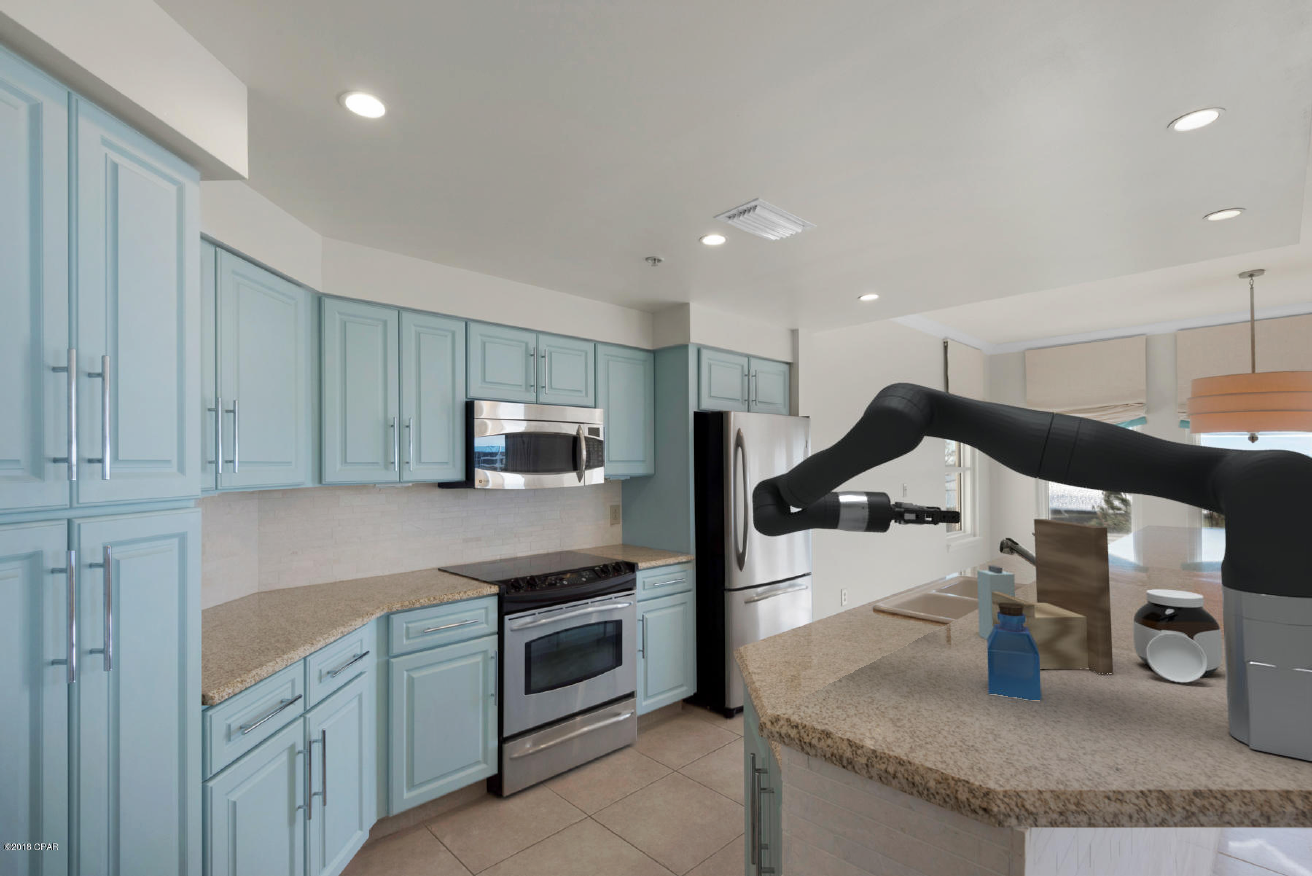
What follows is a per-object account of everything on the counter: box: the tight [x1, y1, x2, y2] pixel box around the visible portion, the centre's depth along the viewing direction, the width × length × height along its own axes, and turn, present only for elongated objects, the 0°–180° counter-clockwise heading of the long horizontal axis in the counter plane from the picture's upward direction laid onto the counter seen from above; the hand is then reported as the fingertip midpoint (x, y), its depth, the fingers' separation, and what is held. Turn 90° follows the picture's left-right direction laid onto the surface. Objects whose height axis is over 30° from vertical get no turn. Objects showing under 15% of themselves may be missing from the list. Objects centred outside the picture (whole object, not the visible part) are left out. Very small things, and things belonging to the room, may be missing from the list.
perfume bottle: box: [986, 603, 1042, 701], centre depth 89 cm, size 6×6×12 cm
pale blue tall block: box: [976, 565, 1016, 641], centre depth 115 cm, size 4×4×13 cm
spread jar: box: [1132, 588, 1223, 684], centre depth 95 cm, size 12×11×12 cm
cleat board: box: [992, 518, 1114, 675], centre depth 103 cm, size 11×15×22 cm
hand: (949, 514), depth 116 cm, fingers open, 8 cm apart
